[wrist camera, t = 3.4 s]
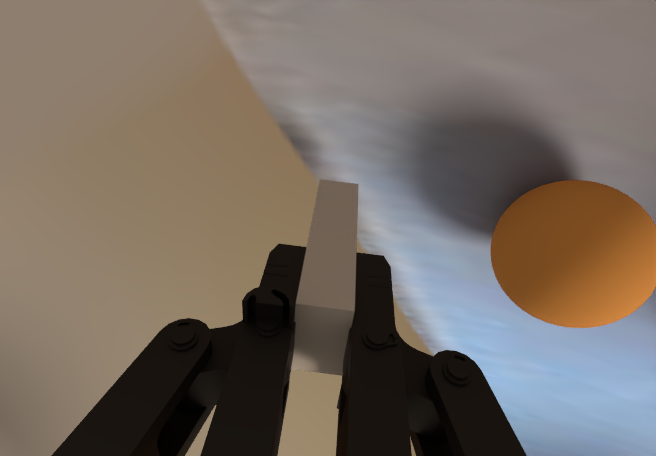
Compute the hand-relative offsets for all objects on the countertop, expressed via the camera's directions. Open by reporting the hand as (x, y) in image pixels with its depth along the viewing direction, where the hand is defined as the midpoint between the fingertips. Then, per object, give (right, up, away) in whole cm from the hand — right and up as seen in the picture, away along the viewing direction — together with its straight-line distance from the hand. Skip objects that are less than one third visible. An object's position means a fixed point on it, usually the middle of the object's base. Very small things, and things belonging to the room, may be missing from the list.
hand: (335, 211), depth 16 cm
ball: (+9, -2, -1) cm, 9 cm away
